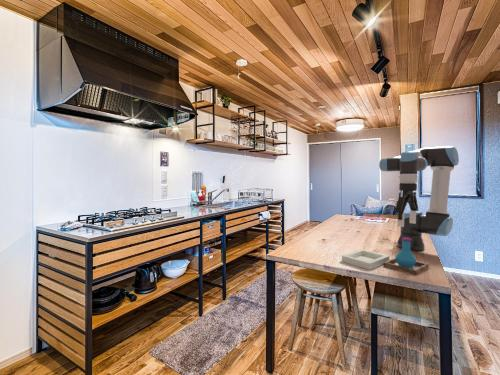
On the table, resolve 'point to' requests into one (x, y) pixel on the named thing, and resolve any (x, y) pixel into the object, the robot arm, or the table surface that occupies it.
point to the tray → (365, 259)
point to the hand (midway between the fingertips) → (406, 224)
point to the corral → (390, 264)
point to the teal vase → (406, 254)
